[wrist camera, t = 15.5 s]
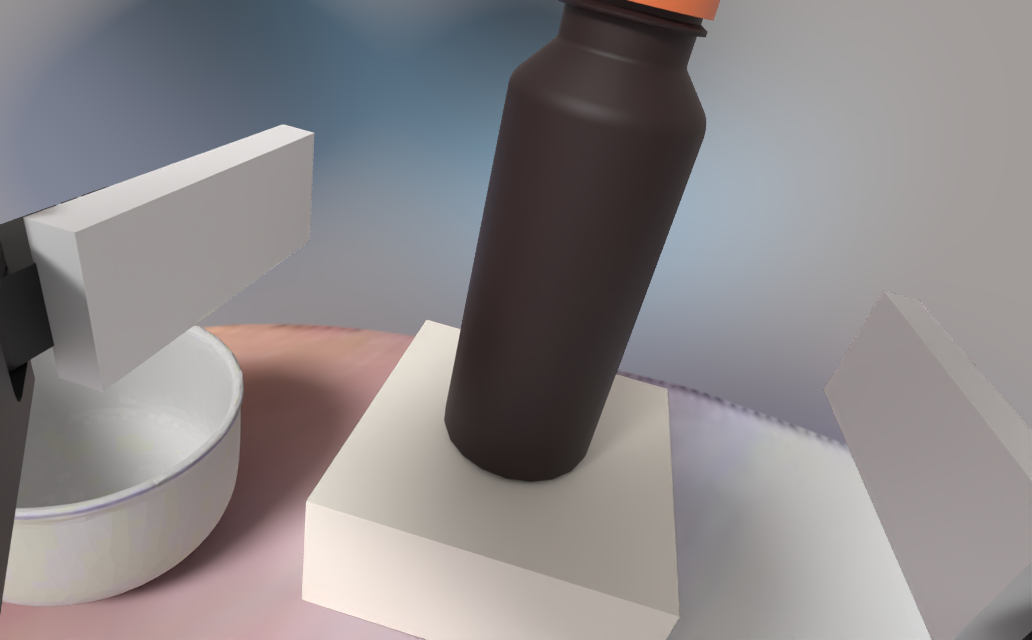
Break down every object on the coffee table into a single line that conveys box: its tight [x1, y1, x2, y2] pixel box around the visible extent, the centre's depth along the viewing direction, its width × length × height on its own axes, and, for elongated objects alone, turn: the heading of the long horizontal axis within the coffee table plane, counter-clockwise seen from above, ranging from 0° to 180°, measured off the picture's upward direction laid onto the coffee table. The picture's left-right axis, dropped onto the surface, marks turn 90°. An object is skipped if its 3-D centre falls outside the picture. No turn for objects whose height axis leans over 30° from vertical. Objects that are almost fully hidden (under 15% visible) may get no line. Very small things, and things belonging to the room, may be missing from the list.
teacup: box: [2, 325, 244, 607], centre depth 23 cm, size 14×11×8 cm
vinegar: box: [444, 0, 720, 482], centre depth 22 cm, size 7×7×20 cm
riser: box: [302, 320, 680, 640], centre depth 29 cm, size 14×14×6 cm
